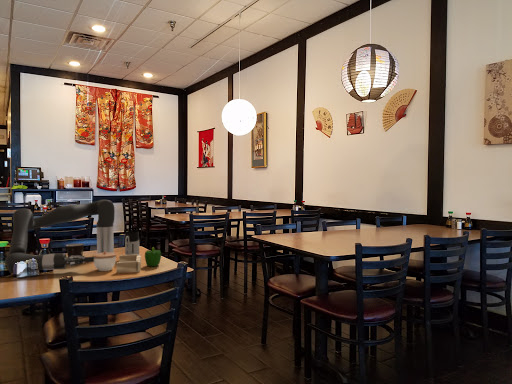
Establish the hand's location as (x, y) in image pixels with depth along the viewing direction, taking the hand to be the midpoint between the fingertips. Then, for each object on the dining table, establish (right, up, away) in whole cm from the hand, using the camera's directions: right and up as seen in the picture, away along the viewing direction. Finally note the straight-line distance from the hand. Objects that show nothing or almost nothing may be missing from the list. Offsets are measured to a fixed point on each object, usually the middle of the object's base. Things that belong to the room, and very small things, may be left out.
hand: (93, 259), depth 186 cm
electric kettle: (+9, -5, +30) cm, 31 cm away
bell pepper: (+26, -6, +12) cm, 29 cm away
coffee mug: (-18, -6, +17) cm, 25 cm away
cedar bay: (+15, -6, +7) cm, 17 cm away
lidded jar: (+5, -6, +3) cm, 8 cm away
